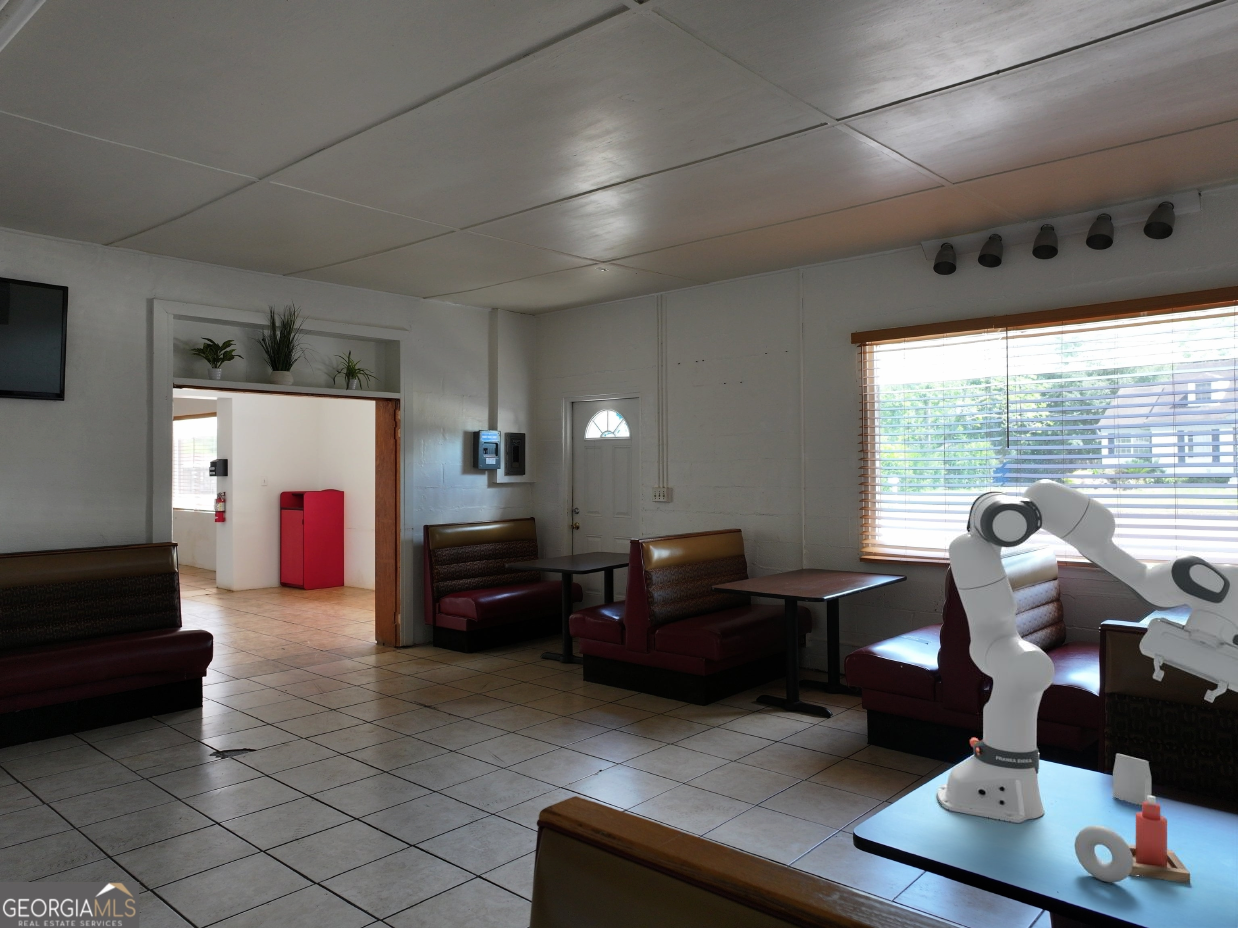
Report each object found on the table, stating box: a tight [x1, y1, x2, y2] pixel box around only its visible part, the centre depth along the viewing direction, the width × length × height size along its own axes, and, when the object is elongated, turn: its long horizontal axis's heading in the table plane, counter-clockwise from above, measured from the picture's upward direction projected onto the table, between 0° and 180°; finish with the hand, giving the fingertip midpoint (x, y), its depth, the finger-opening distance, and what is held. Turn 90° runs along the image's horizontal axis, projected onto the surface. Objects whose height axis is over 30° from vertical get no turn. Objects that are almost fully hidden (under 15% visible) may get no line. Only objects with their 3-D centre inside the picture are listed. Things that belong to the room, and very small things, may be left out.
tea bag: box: [1112, 753, 1152, 806], centre depth 194 cm, size 4×7×10 cm, turn 38°
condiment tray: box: [1127, 844, 1191, 884], centre depth 162 cm, size 10×10×2 cm
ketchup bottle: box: [1135, 794, 1168, 867], centre depth 162 cm, size 5×5×13 cm
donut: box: [1074, 824, 1133, 884], centre depth 156 cm, size 10×3×10 cm, turn 39°
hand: (1182, 689), depth 173 cm, fingers open, 8 cm apart
